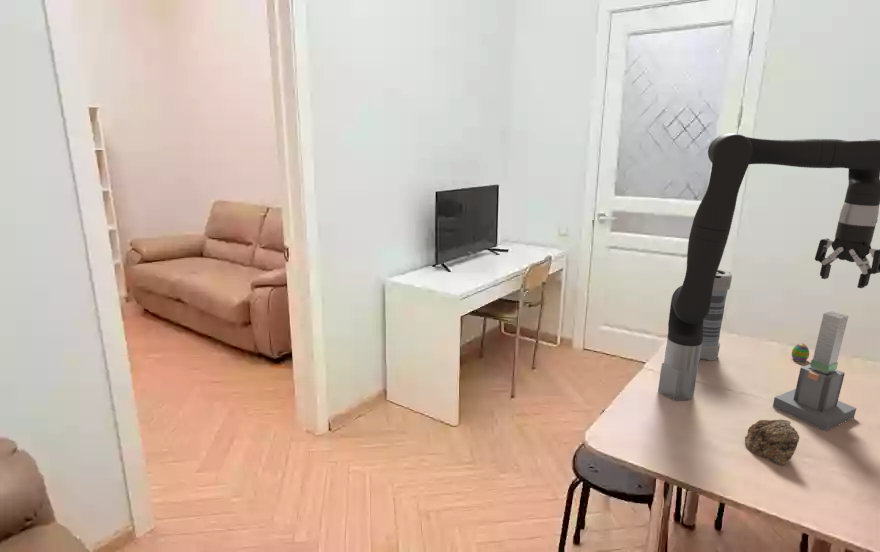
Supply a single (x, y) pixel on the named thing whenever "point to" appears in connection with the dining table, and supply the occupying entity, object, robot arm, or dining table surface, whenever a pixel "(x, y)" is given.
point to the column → (829, 343)
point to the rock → (772, 440)
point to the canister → (715, 316)
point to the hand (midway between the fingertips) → (842, 283)
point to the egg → (800, 352)
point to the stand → (816, 399)
